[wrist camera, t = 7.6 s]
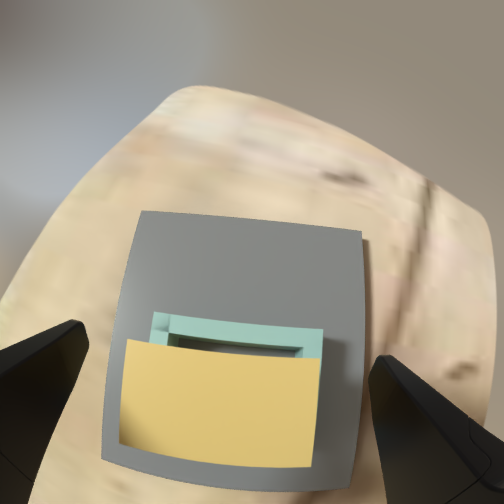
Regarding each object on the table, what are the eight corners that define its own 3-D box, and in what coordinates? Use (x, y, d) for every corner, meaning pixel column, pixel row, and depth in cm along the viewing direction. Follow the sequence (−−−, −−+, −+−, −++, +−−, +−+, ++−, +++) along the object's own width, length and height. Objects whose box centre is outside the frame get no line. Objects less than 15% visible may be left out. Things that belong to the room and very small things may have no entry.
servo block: (273, 412, 15) (311, 466, 6) (188, 404, 15) (118, 443, 6) (277, 364, 16) (319, 358, 7) (192, 356, 16) (127, 338, 7)
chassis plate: (344, 483, 13) (362, 501, 10) (107, 455, 14) (83, 468, 10) (356, 237, 20) (374, 213, 17) (145, 217, 21) (130, 191, 18)
